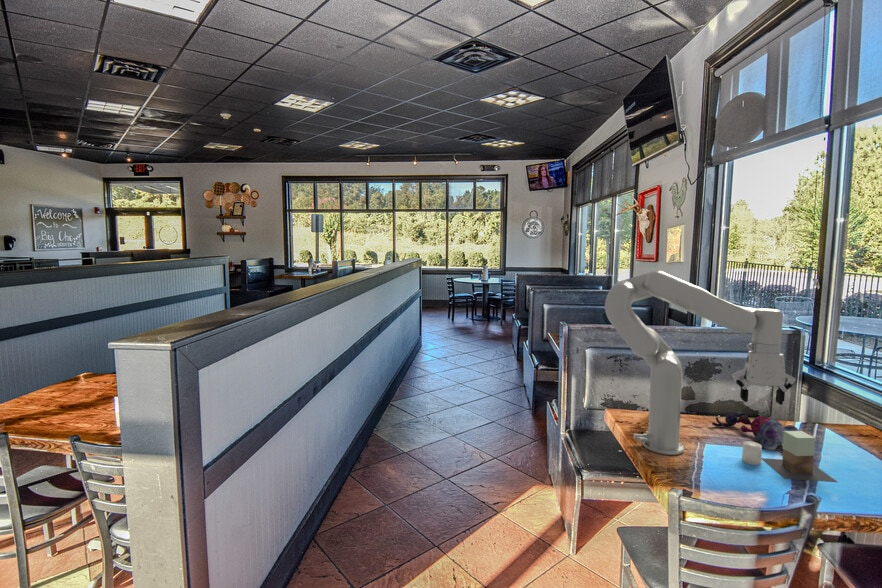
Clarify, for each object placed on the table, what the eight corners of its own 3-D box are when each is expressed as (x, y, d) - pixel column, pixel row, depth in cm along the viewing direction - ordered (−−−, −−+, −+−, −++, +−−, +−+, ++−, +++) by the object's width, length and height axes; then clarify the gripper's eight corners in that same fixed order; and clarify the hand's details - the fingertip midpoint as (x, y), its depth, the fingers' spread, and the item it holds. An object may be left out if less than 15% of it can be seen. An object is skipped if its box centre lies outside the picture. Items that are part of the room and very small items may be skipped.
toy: (716, 435, 183) (779, 473, 153) (706, 415, 182) (769, 449, 152) (752, 414, 184) (822, 448, 154) (743, 394, 182) (812, 423, 153)
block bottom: (792, 472, 143) (793, 455, 143) (782, 464, 149) (783, 447, 148) (812, 474, 142) (813, 456, 142) (801, 466, 148) (803, 448, 147)
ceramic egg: (746, 465, 149) (747, 447, 149) (739, 458, 154) (740, 440, 153) (763, 466, 148) (765, 448, 148) (756, 459, 153) (757, 441, 153)
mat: (784, 479, 140) (784, 478, 140) (760, 459, 153) (760, 458, 153) (837, 483, 137) (838, 482, 137) (808, 462, 151) (808, 461, 151)
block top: (796, 455, 142) (797, 438, 142) (782, 448, 148) (783, 431, 147) (814, 455, 142) (815, 437, 142) (800, 448, 148) (801, 430, 147)
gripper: (739, 349, 147) (735, 403, 148) (803, 352, 143) (799, 408, 145) (730, 344, 154) (726, 396, 156) (791, 347, 150) (787, 400, 152)
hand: (761, 402), depth 150 cm, fingers open, 9 cm apart
